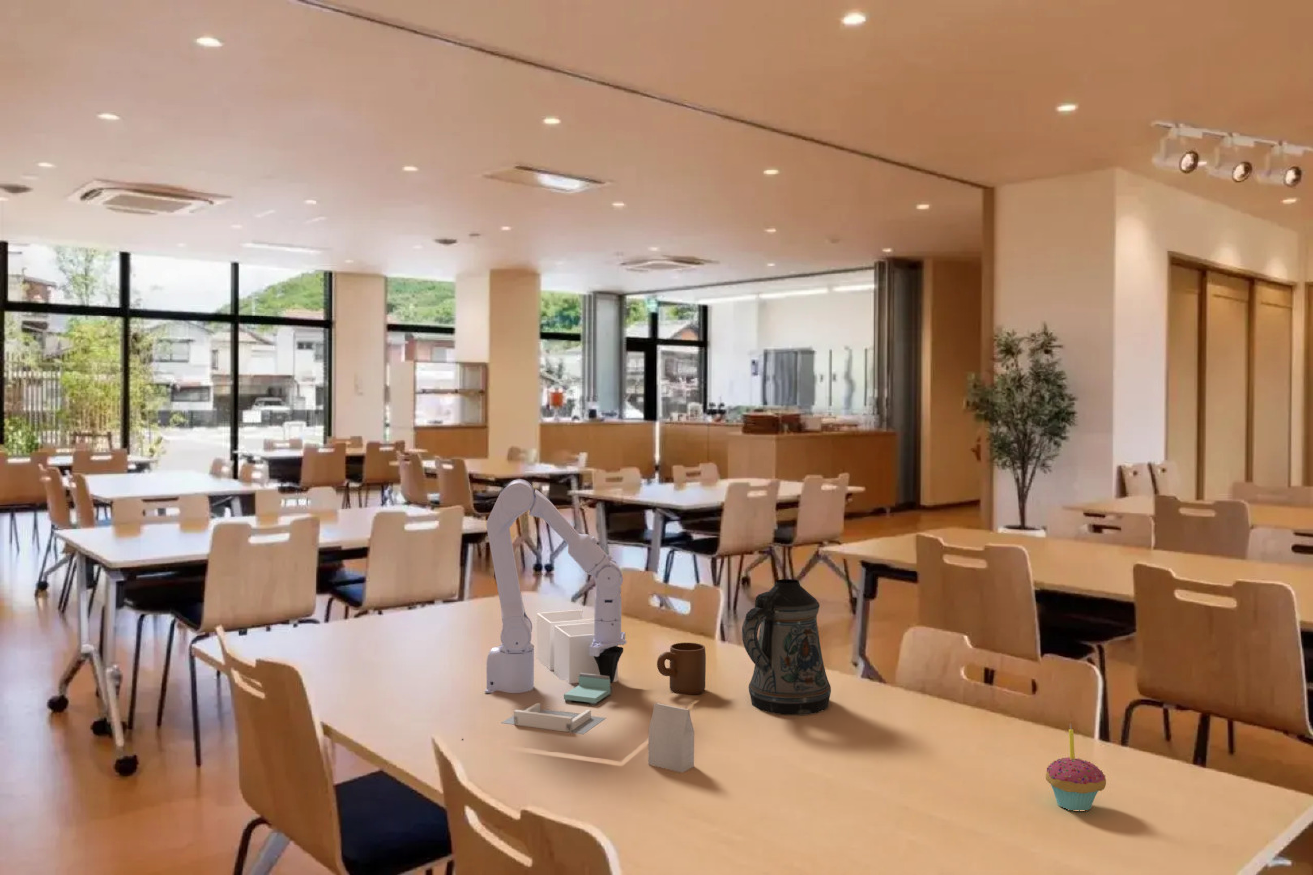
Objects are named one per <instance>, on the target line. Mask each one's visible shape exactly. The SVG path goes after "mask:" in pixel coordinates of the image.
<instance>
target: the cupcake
mask: <svg viewBox="0 0 1313 875" xmlns="http://www.w3.org/2000/svg"><path fill="white" fill-rule="evenodd" d="M1068 738H1069V740H1068V741H1069V742H1068V743H1069V756H1068V757H1061V758H1057V760H1053V761H1052V762H1051V763H1050V764H1049V765H1047V767H1046V772H1045V780H1046V781H1047V783H1048V784H1050V786H1051V787H1052V791H1053V794H1054V797H1055V801H1056V804H1057V806H1058V805H1059V806H1058V807H1060V806H1061V807H1063V808H1066V809H1069V810H1079V811H1080V810H1089V809H1090V808H1091V809H1092V805H1093V804H1094V801H1095V798H1096V796H1097V794H1098V792H1101V791H1103V790H1104V789H1105V788H1106V785H1107V779H1106V775H1105V774H1104V773H1103V770H1100V768H1099V767H1098V766H1096V764H1094V763H1092V762H1091V761H1088V760H1085V759H1084V760H1083V759H1082V758H1075V757H1076V756H1075V740H1074V739H1075V736H1074V729H1073V728H1072V724H1071V723H1069V728H1068ZM1061 807H1060V808H1061ZM1063 808H1062V809H1063ZM1066 809H1065V810H1066ZM1091 809H1090V810H1091ZM1069 810H1068V811H1069ZM1090 810H1089V811H1090Z"/></svg>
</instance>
